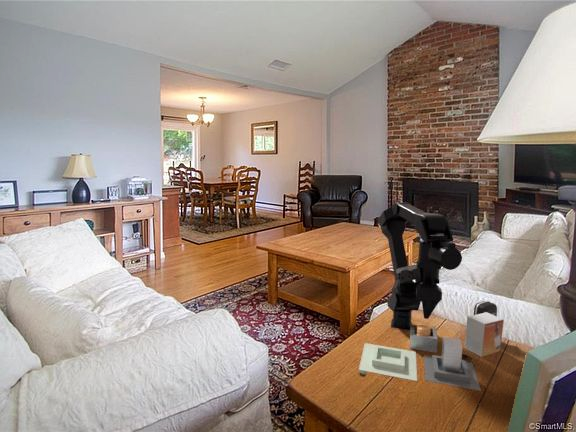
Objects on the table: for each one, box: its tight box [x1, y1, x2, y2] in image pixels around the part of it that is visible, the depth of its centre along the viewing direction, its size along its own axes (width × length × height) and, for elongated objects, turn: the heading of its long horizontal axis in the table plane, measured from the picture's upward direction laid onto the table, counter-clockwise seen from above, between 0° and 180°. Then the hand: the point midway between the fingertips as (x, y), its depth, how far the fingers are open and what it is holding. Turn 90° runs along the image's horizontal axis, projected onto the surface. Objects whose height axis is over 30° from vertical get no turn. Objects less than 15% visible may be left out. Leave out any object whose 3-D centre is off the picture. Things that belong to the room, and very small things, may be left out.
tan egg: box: [417, 324, 431, 336], centre depth 102 cm, size 4×4×5 cm
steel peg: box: [440, 336, 463, 374], centre depth 88 cm, size 4×4×8 cm
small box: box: [464, 312, 505, 358], centre depth 99 cm, size 8×6×10 cm
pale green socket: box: [358, 342, 418, 382], centre depth 94 cm, size 14×14×2 cm
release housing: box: [409, 323, 439, 354], centre depth 102 cm, size 7×7×5 cm
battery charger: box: [472, 300, 498, 317], centre depth 107 cm, size 7×4×11 cm, turn 119°
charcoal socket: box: [423, 354, 482, 392], centre depth 89 cm, size 12×12×2 cm
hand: (425, 311), depth 100 cm, fingers open, 9 cm apart
